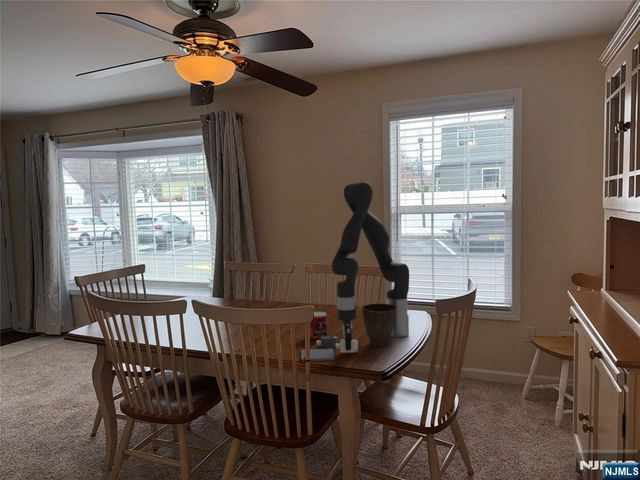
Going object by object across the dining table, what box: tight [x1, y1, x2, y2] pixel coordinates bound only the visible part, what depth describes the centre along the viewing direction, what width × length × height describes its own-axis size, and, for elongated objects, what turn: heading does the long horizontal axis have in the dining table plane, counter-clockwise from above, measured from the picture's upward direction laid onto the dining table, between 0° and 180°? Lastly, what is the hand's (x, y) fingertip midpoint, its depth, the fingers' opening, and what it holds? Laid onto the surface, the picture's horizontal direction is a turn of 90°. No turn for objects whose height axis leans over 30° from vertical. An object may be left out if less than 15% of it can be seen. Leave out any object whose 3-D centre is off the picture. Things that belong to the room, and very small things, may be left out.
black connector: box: [316, 335, 339, 349], centre depth 191 cm, size 9×4×4 cm, turn 91°
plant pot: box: [361, 303, 397, 347], centre depth 193 cm, size 15×15×16 cm
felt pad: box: [300, 348, 335, 362], centre depth 181 cm, size 13×11×1 cm
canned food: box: [309, 311, 328, 341], centre depth 205 cm, size 8×8×11 cm
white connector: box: [335, 338, 359, 353], centre depth 182 cm, size 9×4×4 cm, turn 91°
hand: (347, 348), depth 183 cm, fingers closed on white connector, 3 cm apart
